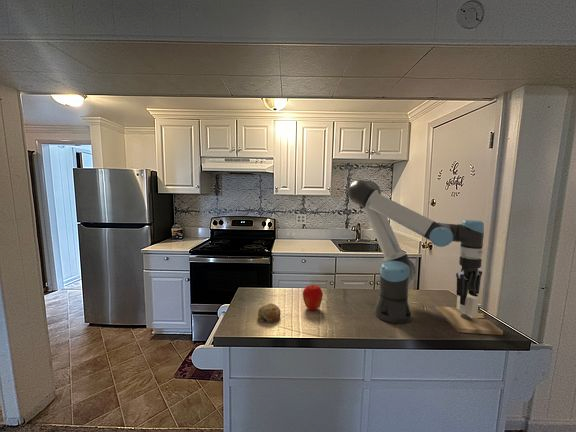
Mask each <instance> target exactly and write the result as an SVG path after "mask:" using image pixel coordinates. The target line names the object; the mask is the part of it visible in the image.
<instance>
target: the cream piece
mask: <svg viewBox="0 0 576 432" xmlns="http://www.w3.org/2000/svg"><path fill="white" fill-rule="evenodd" d="M467 298H468V307H467V313H464V312H462V311H461V318H463V319H467V320H471V319H472V318H477V316H483V317H485V315H484V313H479V312H478V311H479V303H480V302H479V300H480V299H479V298H477V297H476V296H475V297H473V296H472V295H470V294H469V292H468V293H467ZM456 307H457V309H458V310H460V296H458V295H457V294H456ZM478 313H479V314H478Z"/></svg>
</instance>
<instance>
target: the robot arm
mask: <svg viewBox="0 0 576 432" xmlns="http://www.w3.org/2000/svg"><path fill="white" fill-rule="evenodd" d="M381 193H382V190H381V187H380V186H379V184H377V182H375V181H372V180H365V179H358V180H355V181H353V182H352V183H351V184H350V185H349V187H348V189H347V195H348V198H349V200H350V201H351V202H352V203H354V204H356V205H358V206H359V209H360V211H362V212H364V213H365V215H366V218H367V220H368V222H369V224H370V226H371V228H372V231H373V233H374V236H375V238H376V240H377V242H378V246H379V247H380V251H381V252H382V255H383V256H384V257H383V259H382V264H381V265H380V269H379V296H378V299H377V301H376V303H375V307H374V315H375V316H376V317H377V318H378V319H380V320H382V321H385V322H388V323H390V324H392V323H393V324H397V325H398V324H400V325H401V324H407V323H409V322H411V321H412V311H411V308H410V304H409V285H410V283H411V282H412V281H413V280H414V278H415V277H416V271H417V270H416V266H415V263H413V261H412V260H411V259H410V258H409V256H408V254H407V252H405V251H403V250H402V248H401V246H400V243H399V242H398V239H397V237H396V235H395V233H394V230H393V228H392V226H391V224H390V221H389V220H392V222H395V223H397V224H399V225H400V226H403V227H405V228H406V229H408V230H409V231H412V232H414V233H416V234H418V235H419V236H421V237H423V238H425V239H426V240H428V241H430V242H431V243H432V245H434V246H436V247H440V248H444V247H447V246H449V245H450V244H451V243H452V242H454V243H455V242H456V243H460V247H459V255H460V256H459V260H458V261H459V265H460V266H461V269H460V272H456V273H455V276H456V296H457V295H458V296H460V311H462V312H464V313H467V307H468V298H467V293H468V294H470V295H472V296H473V297H475V298H477V297H478V296H479V294H480V288H481V287H480V286H481V280H482V275H483V271H481V270H479V269H480V268H482V260H483V259H482V258H483V257H482V255H483V253H484V251H483V246H484V236H485V223H484V222H483V221H481V220H472V219H464V220H462V222H461V223H458V224H457V223H454V224H453V223H443V222H437V221H434V220H432V219H430V218H428V217H426V216H424V215H422V214H420V213H418V212H416V211H414V210H413V209H410V208H408V207H406V206H404V205H402V204H400V203H399V202H396V201H395V200H393V199H390V198H389V197H386V196H384V195H382V194H381Z"/></svg>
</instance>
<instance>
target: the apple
mask: <svg viewBox="0 0 576 432" xmlns="http://www.w3.org/2000/svg"><path fill="white" fill-rule="evenodd" d="M323 295H324V293H323V290H322V288H321V287H320V286H319V285H314V284H309V285H307V286H305V288H304V289H303V291H302V298H303V303H304V305H305V307H306V308H307V309H308V310H309V311H312V312H313V311H314V312H315V311H317V310H318V309H319V308H320V307H321V304H322V301H323Z"/></svg>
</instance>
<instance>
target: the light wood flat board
mask: <svg viewBox="0 0 576 432" xmlns="http://www.w3.org/2000/svg"><path fill="white" fill-rule="evenodd" d="M435 310H436V312H437V313H439V315H441V316H442V318H443V319H445V320H446V321H447V322H448V323H449V324H450V325H451V326H452V327H453V328H454V329H455V331H457V332H458V333H467V334H479V335H480V334H484V335H496V336H497V335H499V336H503V335H504V331H503V330H502V329H501V328H499V327H498V326H496V325H495V324H494V323H493V322H491V321H490V320H489V319H487V318H486V317H485V316H477V318H472V319H471V320H467V319H463V318H461V311H460V310H458V309H457V306H456V307H455V306H443V305H442V306H441V305H439V306H438V305H437V306H436V305H435ZM478 314H480V313H479V312H478Z"/></svg>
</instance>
